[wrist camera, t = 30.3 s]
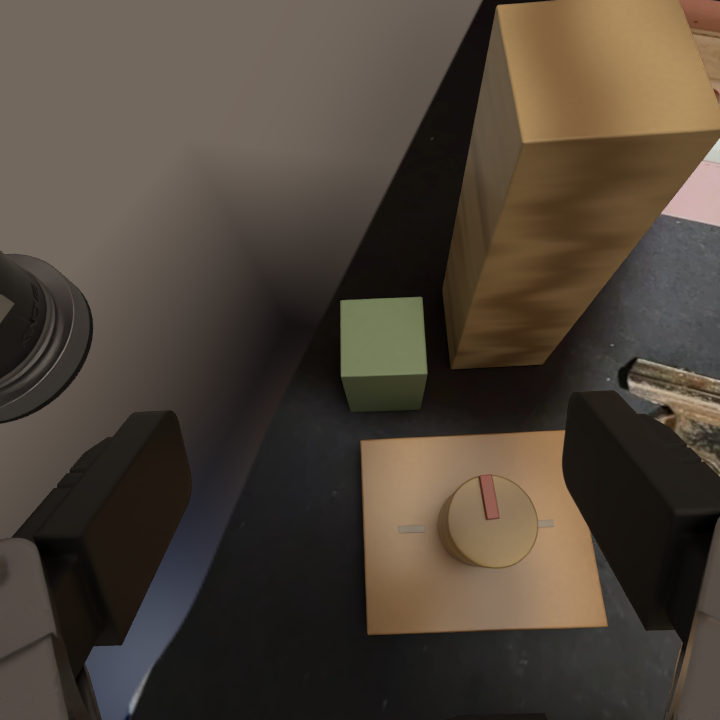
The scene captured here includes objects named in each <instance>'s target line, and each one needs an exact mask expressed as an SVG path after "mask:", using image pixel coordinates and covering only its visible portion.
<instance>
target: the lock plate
mask: <svg viewBox="0 0 720 720" xmlns="http://www.w3.org/2000/svg"><path fill="white" fill-rule="evenodd" d="M564 437H565V430H555V431H535V432H514V433H494V434H473V435H453V436H432V437H412V438H391V439H370V440H360V453H361V480H362V507H363V533H364V560H365V587H366V614H367V634H368V635H386V634H416V633H445V632H475V631H504V630H534V629H563V628H593V627H607V626H608V623H607V618H606V613H605V607H604V602H603V597H602V591H601V586H600V581H599V575H598V570H597V565H596V559H595V554H594V549H593V543H592V538H591V533H590V529H589V527H588V525H587V524H586V522H585V520H584V518H583V516H582V515H581V513H580V511H579V509H578V507H577V506H576V504H575V502H574V500H573V498H572V497H571V495H570V493H569V491H568V489H567V487H566V484H565V481H564V477H563V471H562V453H563V445H564ZM488 474H492V475H496V476H501V477H504V478H507V479H509V480H511V481H513V482H514V483H516V484H517V485H518V486H520V487H521V488H522V489H523V490H524V491H525V492H526V493H527V495H528V496H529V498H530V499H531V501H532V503H533V505H534V507H535V510H536V513H537V518H538V534H537V538H536V541H535V544H534V546H533V548H532V550H531V551H530V552H529V554H528V555H527V556H526V557H525V558H524V559H523V560H521V561H520V562H519V563H517V564H515V565H513V566H510V567H507V568H501V569H493V568H483V567H474V566H469V565H466V564H463V563H461V562H459V561H458V560H456V559H455V558H454V557H452V556H451V555H450V554H449V553H448V551H447V550H446V549H445V547H444V546H443V544H442V541H441V539H440V536H439V532H438V517H439V513H440V510H441V508H442V506H443V504H444V503H445V501H446V500H447V499H448V498H449V497H450V496H451V495H452V494H453V493H454V492H455V491H456V490H457V489H458V488H459V487H460V486H461V485H462V484H463V483H464V482H466V481H467V480H469V479H471V478H474V477H477V476H480V475H488Z"/></svg>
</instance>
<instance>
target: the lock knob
mask: <svg viewBox="0 0 720 720" xmlns="http://www.w3.org/2000/svg"><path fill="white" fill-rule="evenodd" d="M438 532H439V536H440V539H441V541H442V544H443V546H444V547H445V549H446V550H447V551H448V553H449V554H450V555H451V556H452V557H454V558H455V559H456V560H458V561H459V562H461V563H463V564H466V565H469V566H474V567H483V568H493V569H501V568H507V567H510V566H513V565H515V564H517V563H519V562H520V561H521V560H523V559H524V558H525V557H526V556H527V555H528V554H529V552H530V551H531V550H532V548H533V546H534V544H535V541H536V538H537V534H538V518H537V513H536V510H535V507H534V505H533V503H532V501H531V499H530V498H529V496H528V495H527V493H526V492H525V491H524V490H523V489H522V488H521V487H520V486H518V485H517V484H516V483H514V482H513V481H511V480H509V479H507V478H504V477H501V476H496V475H492V474H488V475H480V476H477V477H474V478H471V479H469V480H467V481H466V482H464V483H463V484H462V485H461V486H460V487H459V488H458V489H457V490H456V491H455V492H454V493H453V494H452V495H451V496H450V497H449V498H448V499H447V500H446V501H445V503H444V504H443V506H442V508H441V510H440V513H439V517H438Z"/></svg>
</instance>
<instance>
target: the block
mask: <svg viewBox="0 0 720 720" xmlns="http://www.w3.org/2000/svg"><path fill="white" fill-rule="evenodd" d="M340 315H341V379H342V382H343V386H344V390H345V393H346V397H347V400H348V404H349V408H350V411H351V412H367V411H398V410H420V409H421V403H422V398H423V393H424V388H425V383H426V378H427V359H426V344H425V330H424V315H423V300H422V297H408V298H385V299H361V300H341V301H340Z"/></svg>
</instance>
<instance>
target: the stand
mask: <svg viewBox="0 0 720 720" xmlns="http://www.w3.org/2000/svg"><path fill="white" fill-rule="evenodd" d="M719 138H720V106H719V104H718V101H717V98H716V96H715V93H714V90H713V88H712V85H711V82H710V80H709V77H708V74H707V72H706V69H705V66H704V64H703V61H702V59H701V56H700V53H699V51H698V48H697V45H696V43H695V40H694V37H693V35H692V32H691V29H690V27H689V24H688V22H687V19H686V16H685V14H684V11H683V8H682V6H681V3H680V0H556V1H544V2H532V3H519V4H507V5H498V6H497V7H496V11H495V16H494V22H493V27H492V32H491V37H490V43H489V48H488V53H487V58H486V64H485V69H484V74H483V79H482V85H481V90H480V95H479V100H478V105H477V111H476V116H475V121H474V126H473V132H472V137H471V142H470V147H469V153H468V158H467V163H466V168H465V174H464V179H463V184H462V189H461V194H460V200H459V205H458V210H457V215H456V221H455V226H454V231H453V236H452V242H451V247H450V252H449V257H448V263H447V268H446V273H445V278H444V284H443V289H442V292H443V301H444V311H445V320H446V329H447V339H448V348H449V358H450V367H451V369H467V368H486V367H505V366H523V365H542V364H543V363H544V362H545V361H546V359H547V358H548V357H549V355H550V354H551V353H552V352H553V350H554V349H555V348H556V346H557V345H558V344H559V343H560V341H561V340H562V339H563V338H564V336H565V335H566V334H567V332H568V331H569V330H570V329H571V327H572V326H573V325H574V324H575V322H576V321H577V320H578V318H579V317H580V316H581V315H582V313H583V312H584V311H585V309H586V308H587V307H588V306H589V304H590V303H591V302H592V301H593V299H594V298H595V297H596V295H597V294H598V293H599V292H600V290H601V289H602V288H603V286H604V285H605V284H606V283H607V281H608V280H609V279H610V278H611V276H612V275H613V274H614V272H615V271H616V270H617V269H618V267H619V266H620V265H621V264H622V262H623V261H624V260H625V258H626V257H627V256H628V255H629V253H630V252H631V251H632V249H633V248H634V247H635V246H636V244H637V243H638V242H639V241H640V239H641V238H642V237H643V235H644V234H645V233H646V232H647V230H648V229H649V228H650V226H651V225H652V224H653V223H654V221H655V220H656V219H657V218H658V216H659V215H660V214H661V212H662V211H663V210H664V209H665V207H666V206H667V205H668V204H669V202H670V201H671V200H672V198H673V197H674V196H675V195H676V193H677V192H678V191H679V189H680V188H681V187H682V186H683V184H684V183H685V182H686V181H687V179H688V178H689V177H690V175H691V174H692V173H693V172H694V170H695V169H696V168H697V166H698V165H699V164H700V163H701V161H702V160H703V159H704V158H705V156H706V155H707V154H708V152H709V151H710V150H711V149H712V147H713V146H714V145H715V144H716V142H717V141H718V140H719Z"/></svg>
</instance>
